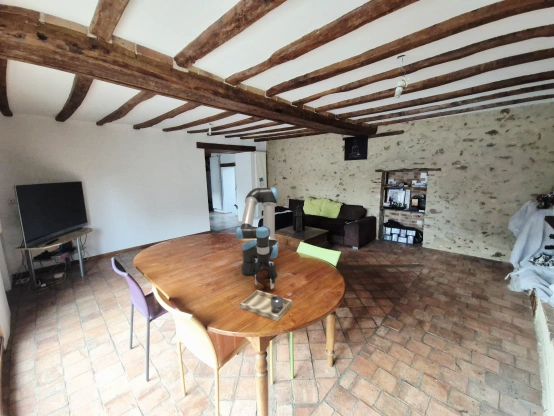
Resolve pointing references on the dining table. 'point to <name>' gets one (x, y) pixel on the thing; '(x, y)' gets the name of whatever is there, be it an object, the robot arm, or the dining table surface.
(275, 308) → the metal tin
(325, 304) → the dining table surface
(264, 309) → the cream rectangular tray
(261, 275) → the ice cream bowl
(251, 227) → the robot arm
